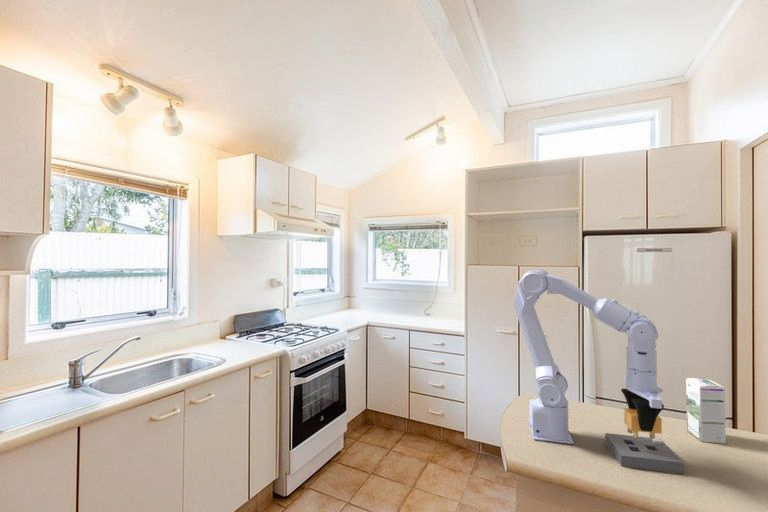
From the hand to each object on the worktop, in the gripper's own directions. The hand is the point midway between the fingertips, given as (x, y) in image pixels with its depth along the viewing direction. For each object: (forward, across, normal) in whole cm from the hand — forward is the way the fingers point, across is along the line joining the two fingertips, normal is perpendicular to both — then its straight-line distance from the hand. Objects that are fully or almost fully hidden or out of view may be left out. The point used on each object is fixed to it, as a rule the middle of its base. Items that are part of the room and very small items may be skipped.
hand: (641, 425), depth 82 cm
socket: (+8, 0, 0) cm, 8 cm away
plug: (+2, 0, 0) cm, 3 cm away
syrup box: (+8, +14, -20) cm, 26 cm away
